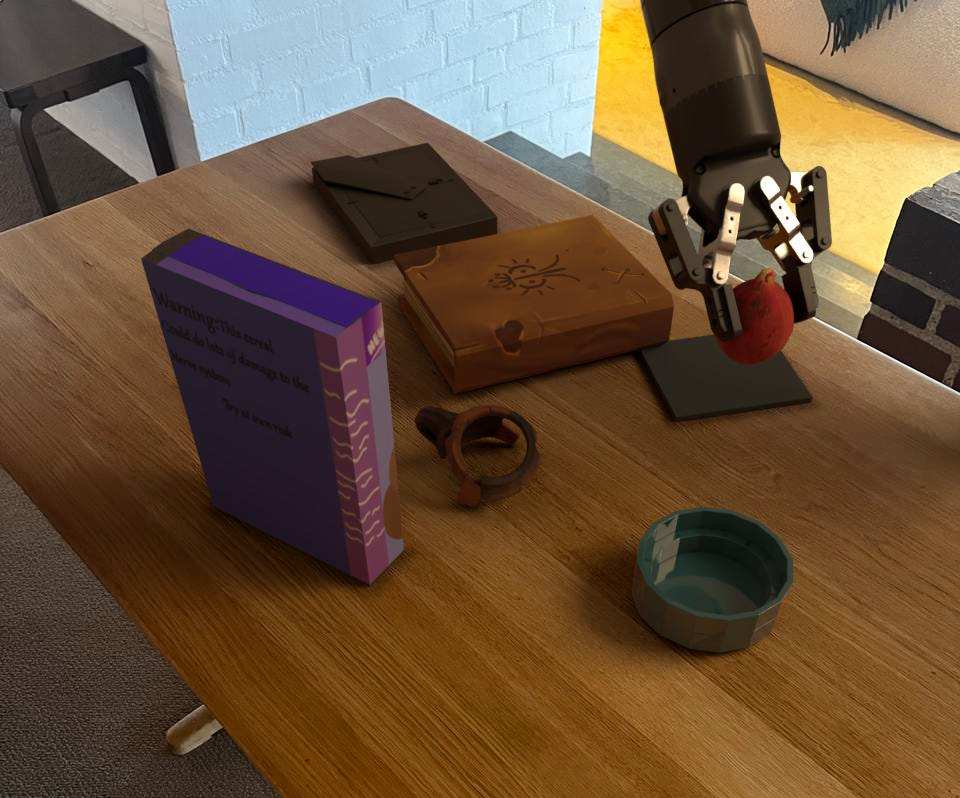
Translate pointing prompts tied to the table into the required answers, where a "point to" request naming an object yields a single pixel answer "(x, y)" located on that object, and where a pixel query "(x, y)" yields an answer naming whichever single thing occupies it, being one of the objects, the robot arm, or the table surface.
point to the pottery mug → (470, 425)
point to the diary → (531, 302)
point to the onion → (760, 320)
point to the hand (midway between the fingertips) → (768, 328)
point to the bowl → (711, 579)
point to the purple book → (284, 399)
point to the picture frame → (402, 201)
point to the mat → (719, 380)
